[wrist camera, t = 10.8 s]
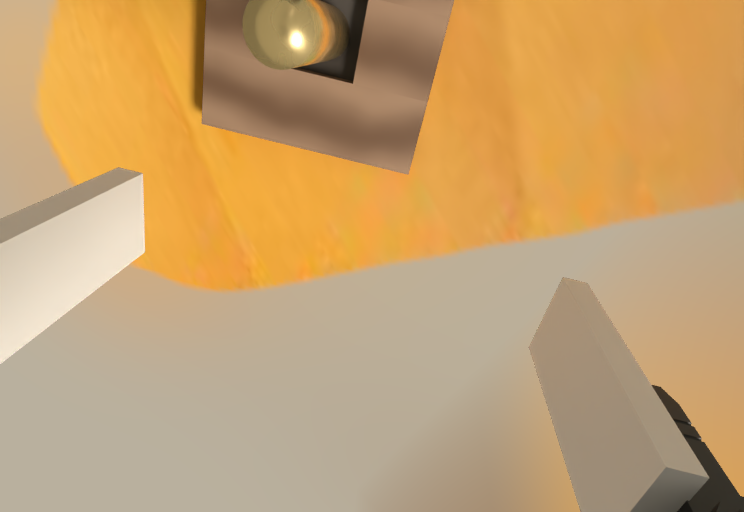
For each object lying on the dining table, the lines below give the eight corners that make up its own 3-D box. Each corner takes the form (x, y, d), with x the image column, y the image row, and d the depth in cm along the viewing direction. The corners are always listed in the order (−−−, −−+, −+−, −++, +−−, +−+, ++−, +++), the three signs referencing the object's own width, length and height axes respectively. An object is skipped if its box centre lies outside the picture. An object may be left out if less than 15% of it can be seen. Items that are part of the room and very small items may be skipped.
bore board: (223, -139, 31) (211, -149, 29) (473, -78, 31) (476, -85, 29) (212, 119, 40) (201, 123, 38) (409, 168, 39) (408, 174, 38)
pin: (303, -2, 34) (245, -21, 23) (354, 9, 34) (319, -4, 23) (296, 54, 36) (239, 61, 25) (345, 65, 36) (309, 77, 25)
